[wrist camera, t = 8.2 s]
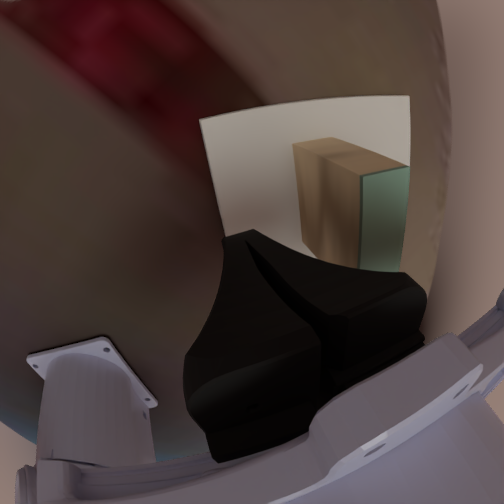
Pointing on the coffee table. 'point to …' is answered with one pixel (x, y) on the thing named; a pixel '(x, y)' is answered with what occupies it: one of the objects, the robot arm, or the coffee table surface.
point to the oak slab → (351, 204)
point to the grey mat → (291, 155)
